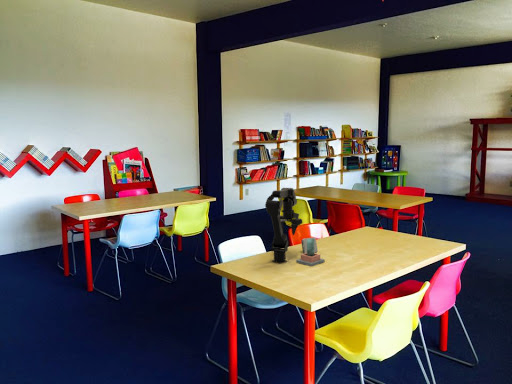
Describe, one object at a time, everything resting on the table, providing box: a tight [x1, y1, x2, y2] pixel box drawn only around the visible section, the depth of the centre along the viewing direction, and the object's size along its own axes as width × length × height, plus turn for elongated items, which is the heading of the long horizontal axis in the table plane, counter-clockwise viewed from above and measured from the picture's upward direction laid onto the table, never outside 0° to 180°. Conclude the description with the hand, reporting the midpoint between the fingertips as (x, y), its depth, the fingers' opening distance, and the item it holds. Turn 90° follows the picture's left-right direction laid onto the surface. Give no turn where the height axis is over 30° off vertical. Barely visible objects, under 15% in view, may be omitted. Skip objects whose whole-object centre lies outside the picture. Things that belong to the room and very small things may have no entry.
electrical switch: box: [301, 237, 318, 254], centre depth 274 cm, size 9×5×9 cm, turn 116°
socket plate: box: [295, 252, 325, 267], centre depth 253 cm, size 12×11×4 cm
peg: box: [307, 237, 314, 257], centre depth 252 cm, size 4×4×12 cm
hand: (287, 233), depth 268 cm, fingers open, 9 cm apart
